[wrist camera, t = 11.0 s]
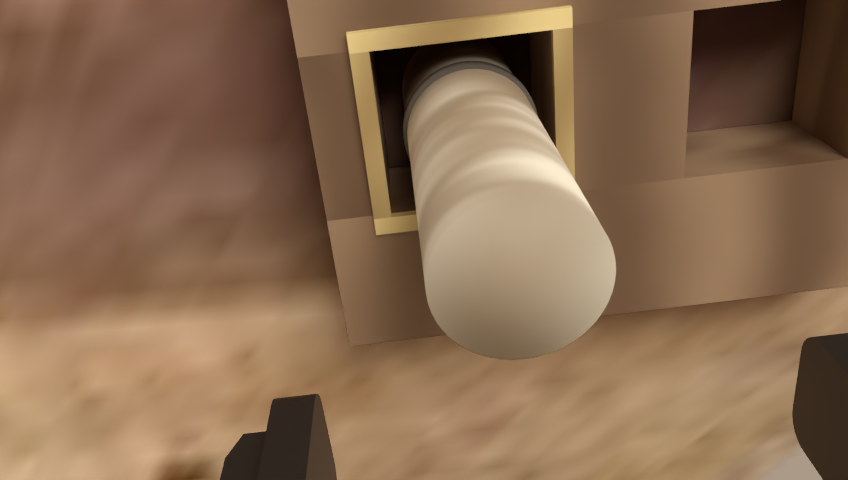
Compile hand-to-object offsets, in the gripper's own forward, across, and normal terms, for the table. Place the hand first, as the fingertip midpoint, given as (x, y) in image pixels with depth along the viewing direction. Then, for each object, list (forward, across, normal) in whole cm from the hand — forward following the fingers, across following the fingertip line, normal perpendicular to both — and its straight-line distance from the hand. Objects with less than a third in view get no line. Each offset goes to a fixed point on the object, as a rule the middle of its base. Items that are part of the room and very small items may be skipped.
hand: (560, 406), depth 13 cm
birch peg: (+18, 0, 0) cm, 18 cm away
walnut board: (+18, -5, 0) cm, 18 cm away
